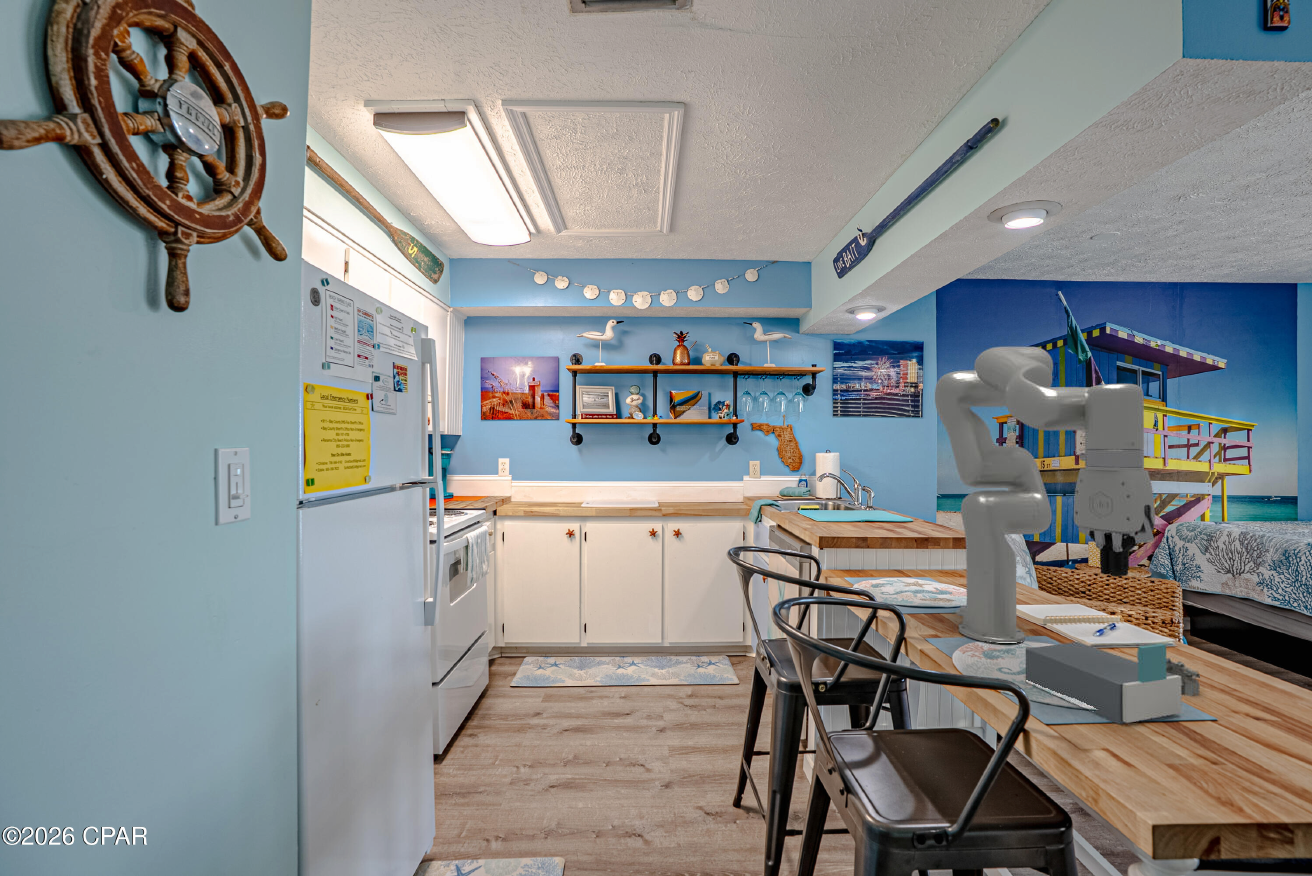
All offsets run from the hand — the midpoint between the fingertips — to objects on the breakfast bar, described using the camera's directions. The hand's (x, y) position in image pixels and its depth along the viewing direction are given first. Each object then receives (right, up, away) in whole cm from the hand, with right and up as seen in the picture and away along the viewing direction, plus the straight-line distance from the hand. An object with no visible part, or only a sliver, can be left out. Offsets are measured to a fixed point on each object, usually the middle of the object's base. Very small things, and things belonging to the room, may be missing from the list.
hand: (1114, 574), depth 95 cm
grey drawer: (-1, -21, +3) cm, 21 cm away
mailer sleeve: (-1, -21, +3) cm, 21 cm away
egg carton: (+16, -22, +9) cm, 28 cm away
